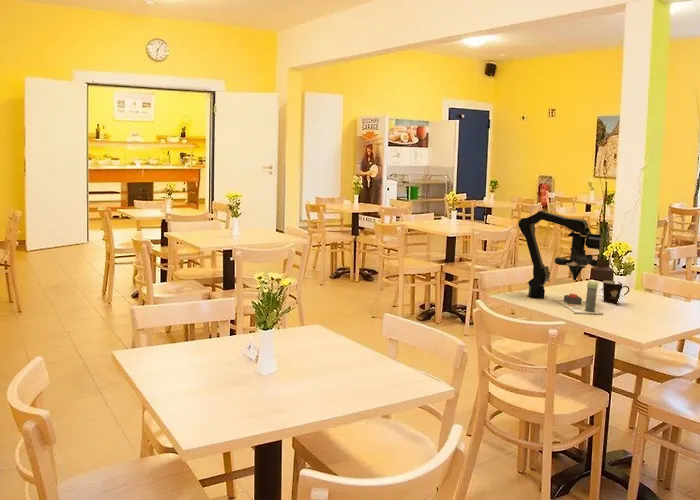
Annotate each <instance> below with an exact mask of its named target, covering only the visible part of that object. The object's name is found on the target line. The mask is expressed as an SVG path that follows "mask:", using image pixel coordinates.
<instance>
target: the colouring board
mask: <svg viewBox="0 0 700 500" xmlns="http://www.w3.org/2000/svg"><path fill="white" fill-rule="evenodd" d="M556 302H557V303H559V305H561V306H563V307H565V308H566V309H568V310H570V311H571V312H572V313H573V314H574V315H589V316H590V315H591V316H592V315H593V316H604V313H603V312H601V311H600V310H598V309H596V308H595V312H588V311H585V307H586V302H584V301H582V302H581V304H568V303H566V302H564V300H556Z"/></svg>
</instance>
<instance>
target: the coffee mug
mask: <svg viewBox="0 0 700 500" xmlns="http://www.w3.org/2000/svg"><path fill="white" fill-rule="evenodd" d="M617 282H618V283H619V284H615V280H603V282H602V284H603V285H602V287H603V289H602V291H603V294H602V295H603V297H602V298H603V303H608V304H612V305H614V304H617V302H618V303H619V301H618V299H619V300H620V298H619V297H620V296H621V292H622V289H623V288H627V291H626V292H625V293H624V296H625V295H627V294H628V293H630V287H629V286H627V285H623V283H622V282H621V281H617ZM622 286H623V287H622ZM617 305H618V304H617Z"/></svg>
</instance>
